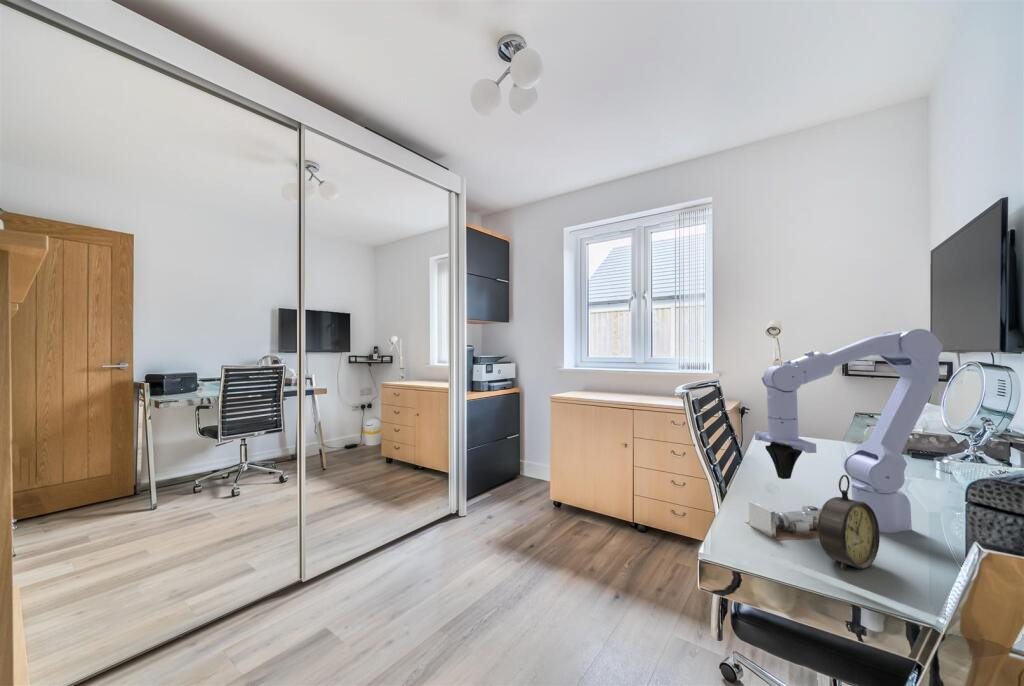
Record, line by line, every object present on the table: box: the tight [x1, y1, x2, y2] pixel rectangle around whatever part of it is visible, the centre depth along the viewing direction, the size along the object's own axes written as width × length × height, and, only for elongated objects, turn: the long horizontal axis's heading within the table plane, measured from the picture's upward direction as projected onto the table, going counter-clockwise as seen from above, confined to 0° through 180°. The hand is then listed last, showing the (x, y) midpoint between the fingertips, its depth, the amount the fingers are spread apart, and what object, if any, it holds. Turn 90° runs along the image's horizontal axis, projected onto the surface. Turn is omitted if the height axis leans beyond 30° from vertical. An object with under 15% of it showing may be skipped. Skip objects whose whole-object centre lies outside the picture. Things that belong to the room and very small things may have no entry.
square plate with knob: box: [748, 500, 809, 538], centre depth 82 cm, size 9×6×5 cm, turn 98°
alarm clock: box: [818, 474, 880, 571], centre depth 69 cm, size 11×5×16 cm, turn 114°
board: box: [744, 521, 819, 542], centre depth 82 cm, size 17×9×1 cm, turn 98°
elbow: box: [776, 505, 822, 531], centre depth 82 cm, size 10×4×4 cm, turn 100°
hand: (784, 478), depth 89 cm, fingers closed
